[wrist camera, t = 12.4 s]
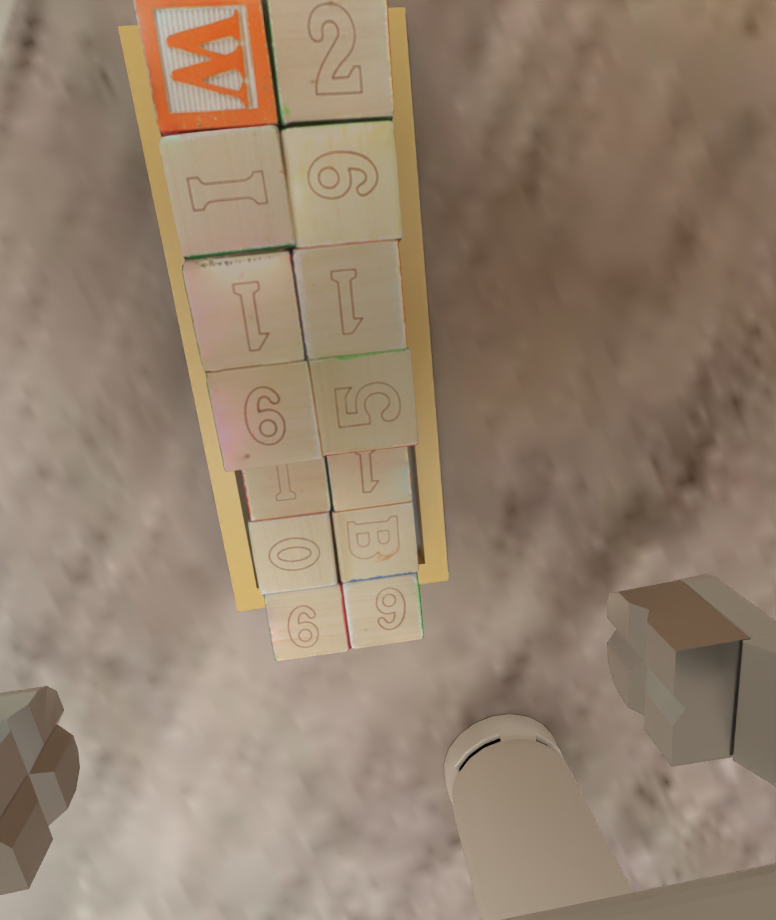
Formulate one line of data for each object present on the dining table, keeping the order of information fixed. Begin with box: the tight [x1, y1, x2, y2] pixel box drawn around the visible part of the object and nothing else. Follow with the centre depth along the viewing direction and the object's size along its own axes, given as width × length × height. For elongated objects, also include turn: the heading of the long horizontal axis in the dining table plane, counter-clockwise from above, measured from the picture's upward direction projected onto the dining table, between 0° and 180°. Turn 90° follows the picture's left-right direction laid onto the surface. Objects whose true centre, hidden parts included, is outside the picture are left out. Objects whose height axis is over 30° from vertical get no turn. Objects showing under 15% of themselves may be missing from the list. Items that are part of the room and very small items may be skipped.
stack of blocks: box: [134, 0, 424, 661], centre depth 23 cm, size 21×6×12 cm, turn 5°
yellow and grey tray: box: [118, 7, 449, 612], centre depth 29 cm, size 12×27×4 cm, turn 6°
